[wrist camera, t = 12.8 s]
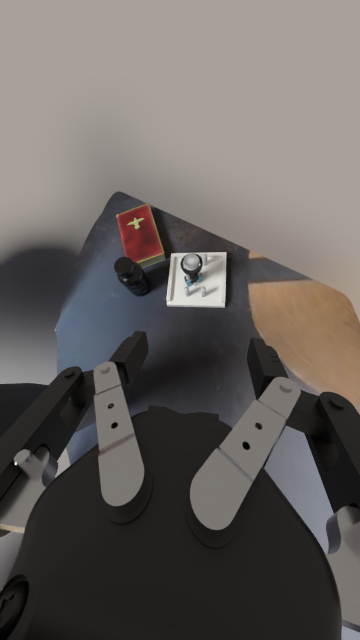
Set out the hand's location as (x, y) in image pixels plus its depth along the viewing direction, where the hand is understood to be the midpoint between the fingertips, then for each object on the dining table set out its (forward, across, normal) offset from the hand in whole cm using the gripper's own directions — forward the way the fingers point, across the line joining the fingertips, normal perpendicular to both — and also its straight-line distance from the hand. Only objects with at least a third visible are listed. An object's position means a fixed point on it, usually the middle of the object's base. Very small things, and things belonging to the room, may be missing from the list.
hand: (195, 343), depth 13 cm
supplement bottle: (+38, +20, +9) cm, 44 cm away
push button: (+38, +3, +7) cm, 39 cm away
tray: (+39, +3, +7) cm, 40 cm away
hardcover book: (+50, +22, -3) cm, 55 cm away
